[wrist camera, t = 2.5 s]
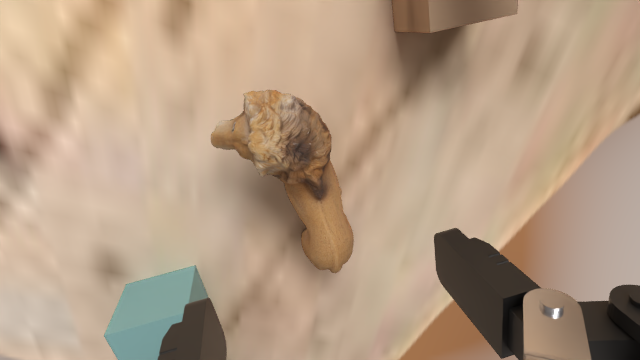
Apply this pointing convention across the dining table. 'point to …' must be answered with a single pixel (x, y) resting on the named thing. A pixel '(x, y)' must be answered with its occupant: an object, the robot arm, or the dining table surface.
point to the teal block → (151, 312)
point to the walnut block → (447, 13)
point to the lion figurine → (294, 167)
